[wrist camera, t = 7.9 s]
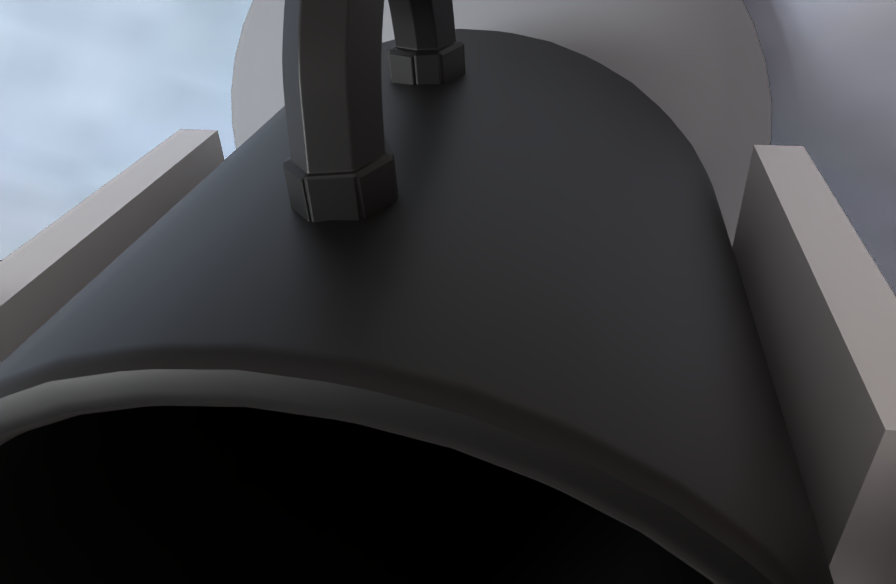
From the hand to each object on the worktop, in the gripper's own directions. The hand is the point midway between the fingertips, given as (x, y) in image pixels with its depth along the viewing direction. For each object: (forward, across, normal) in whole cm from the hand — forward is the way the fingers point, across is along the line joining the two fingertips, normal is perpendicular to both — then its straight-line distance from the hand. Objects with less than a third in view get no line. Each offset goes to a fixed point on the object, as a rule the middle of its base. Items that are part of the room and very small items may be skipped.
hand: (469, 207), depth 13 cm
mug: (+1, 0, 0) cm, 1 cm away
